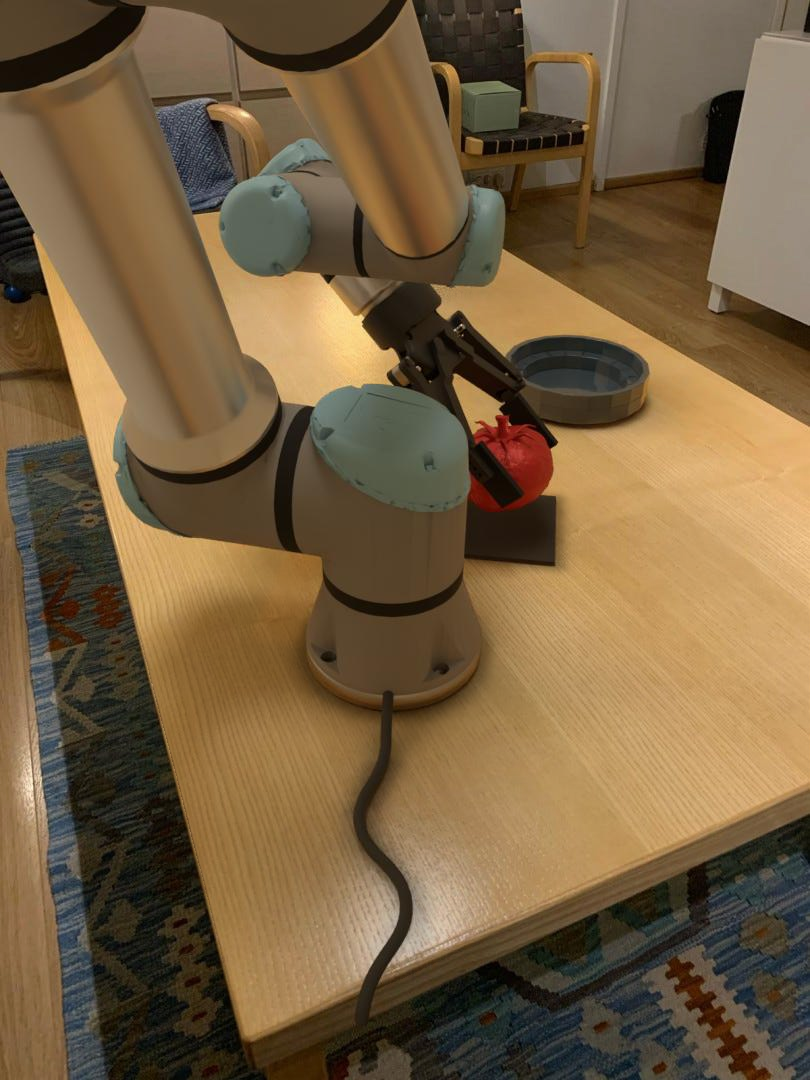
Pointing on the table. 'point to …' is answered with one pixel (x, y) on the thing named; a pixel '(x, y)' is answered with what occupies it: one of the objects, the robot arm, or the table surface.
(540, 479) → the red tomato
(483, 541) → the mat
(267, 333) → the table surface
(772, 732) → the table surface
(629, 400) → the bowl
